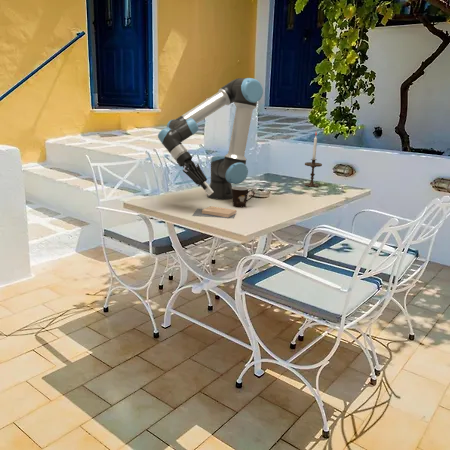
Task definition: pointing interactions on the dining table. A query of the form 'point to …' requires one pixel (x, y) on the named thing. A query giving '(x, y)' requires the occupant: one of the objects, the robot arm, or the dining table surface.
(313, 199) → the dining table surface
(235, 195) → the coffee mug
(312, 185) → the candlestick
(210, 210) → the tile
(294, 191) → the dining table surface
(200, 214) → the mat
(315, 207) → the dining table surface
